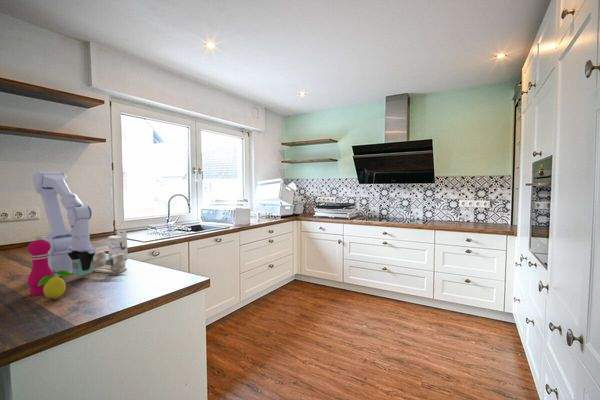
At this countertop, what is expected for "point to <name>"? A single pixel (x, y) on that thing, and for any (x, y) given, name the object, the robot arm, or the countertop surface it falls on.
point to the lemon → (54, 284)
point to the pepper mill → (38, 264)
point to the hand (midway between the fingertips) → (82, 269)
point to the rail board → (101, 266)
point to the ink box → (118, 244)
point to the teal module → (79, 268)
